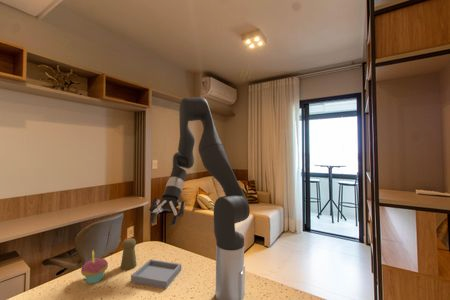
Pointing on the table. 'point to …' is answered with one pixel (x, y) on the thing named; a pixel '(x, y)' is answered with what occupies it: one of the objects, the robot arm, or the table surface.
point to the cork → (128, 254)
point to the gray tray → (156, 273)
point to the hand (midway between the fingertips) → (162, 224)
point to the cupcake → (94, 269)
